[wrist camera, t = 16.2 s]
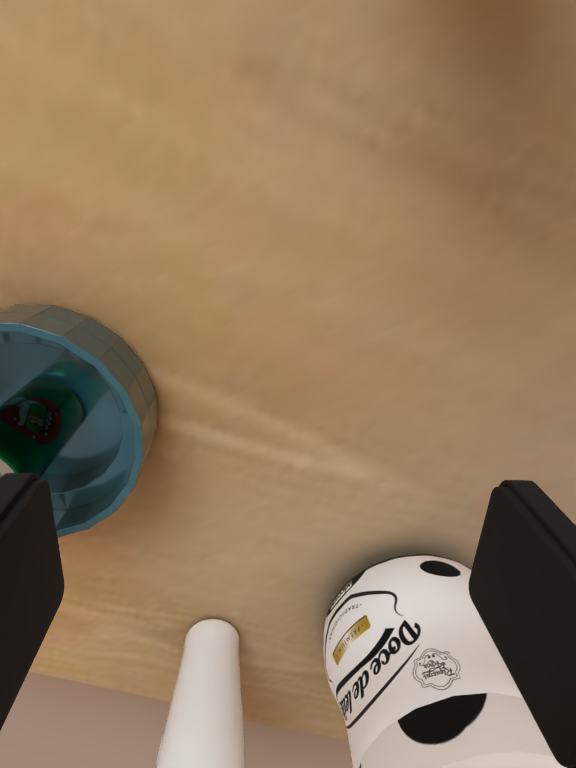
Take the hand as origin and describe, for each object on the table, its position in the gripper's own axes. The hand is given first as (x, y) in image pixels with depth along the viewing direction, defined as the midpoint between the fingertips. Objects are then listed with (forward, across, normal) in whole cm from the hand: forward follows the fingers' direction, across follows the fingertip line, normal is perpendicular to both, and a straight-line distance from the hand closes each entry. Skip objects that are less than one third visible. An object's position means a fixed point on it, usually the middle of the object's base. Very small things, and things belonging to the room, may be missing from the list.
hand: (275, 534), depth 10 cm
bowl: (+27, +16, +10) cm, 33 cm away
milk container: (+27, -15, +31) cm, 44 cm away
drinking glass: (+27, +4, +35) cm, 44 cm away
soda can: (+27, +16, +10) cm, 33 cm away
